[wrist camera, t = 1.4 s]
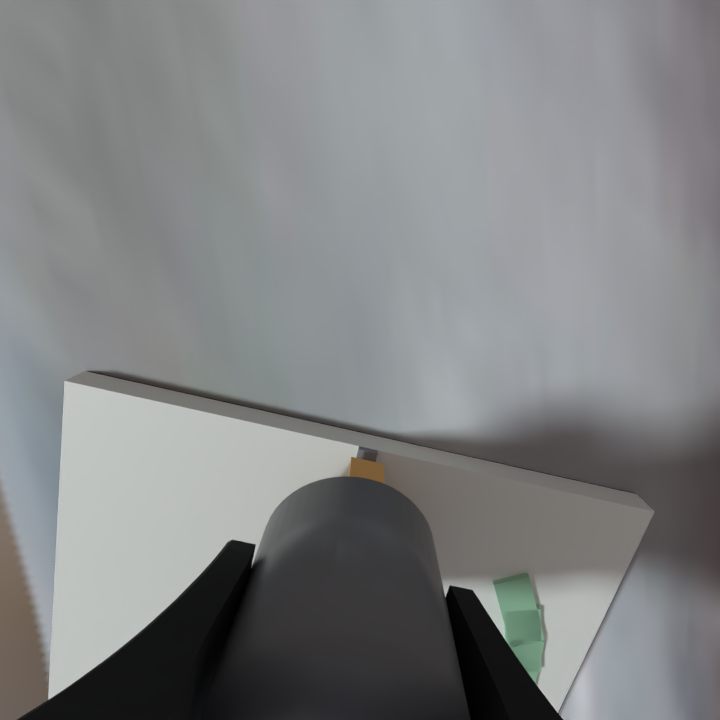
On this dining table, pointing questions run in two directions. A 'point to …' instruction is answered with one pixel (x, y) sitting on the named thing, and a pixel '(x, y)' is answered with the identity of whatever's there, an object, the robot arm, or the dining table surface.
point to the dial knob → (341, 613)
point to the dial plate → (276, 482)
